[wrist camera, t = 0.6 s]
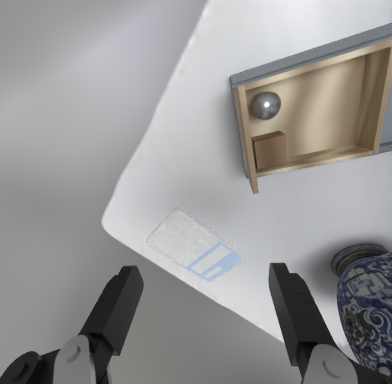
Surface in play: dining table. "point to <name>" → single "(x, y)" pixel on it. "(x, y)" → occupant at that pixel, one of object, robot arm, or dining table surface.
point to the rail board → (388, 142)
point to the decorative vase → (366, 303)
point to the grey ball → (265, 105)
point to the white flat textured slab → (194, 246)
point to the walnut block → (269, 149)
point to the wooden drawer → (321, 110)
